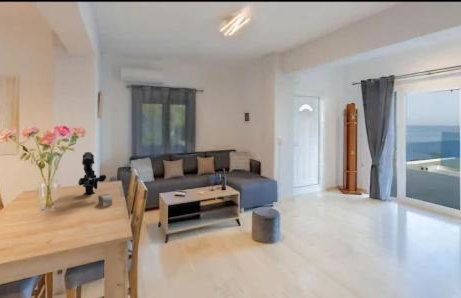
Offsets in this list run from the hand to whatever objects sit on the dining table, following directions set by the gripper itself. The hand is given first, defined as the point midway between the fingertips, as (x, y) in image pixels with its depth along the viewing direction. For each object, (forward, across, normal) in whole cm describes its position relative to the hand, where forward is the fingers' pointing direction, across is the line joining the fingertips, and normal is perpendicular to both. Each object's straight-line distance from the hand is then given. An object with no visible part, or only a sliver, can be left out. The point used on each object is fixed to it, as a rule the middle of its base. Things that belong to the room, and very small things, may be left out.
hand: (96, 188), depth 196 cm
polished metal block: (+11, 0, +3) cm, 11 cm away
